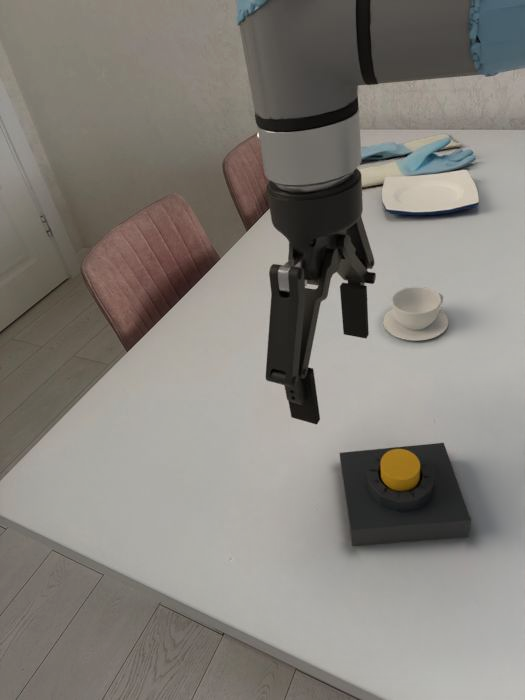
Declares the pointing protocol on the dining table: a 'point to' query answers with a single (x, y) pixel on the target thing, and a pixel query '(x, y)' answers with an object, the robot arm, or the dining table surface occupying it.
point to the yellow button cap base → (403, 499)
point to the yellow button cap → (400, 469)
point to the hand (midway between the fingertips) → (332, 373)
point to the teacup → (416, 314)
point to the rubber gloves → (413, 159)
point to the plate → (429, 193)
